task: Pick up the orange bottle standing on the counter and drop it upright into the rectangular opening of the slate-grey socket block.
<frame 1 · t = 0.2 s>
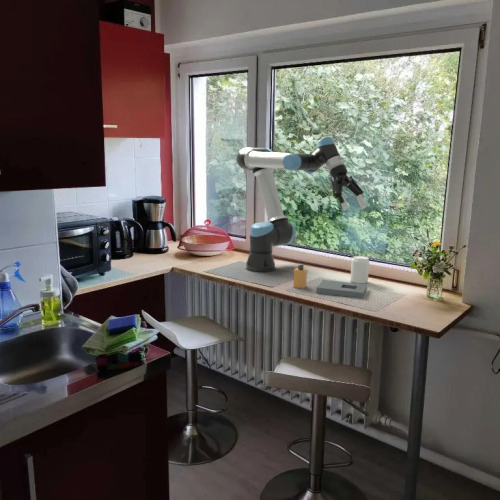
hand: (355, 208, 225), 35 cm above the countertop, tool tilted 35°, fingers open, 13 cm apart
orange bottle: (299, 286, 226), on the countertop
beverage can: (358, 282, 236), on the countertop
socket block: (341, 291, 220), on the countertop
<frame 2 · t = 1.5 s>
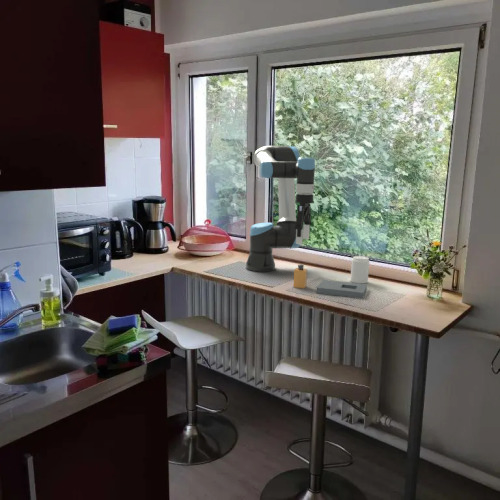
hand: (302, 241, 222), 21 cm above the countertop, tool pointing down, fingers open, 13 cm apart
nothing on the countertop moved.
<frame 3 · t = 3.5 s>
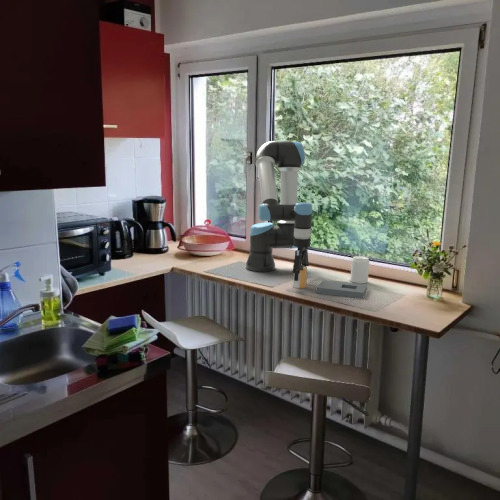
hand: (300, 283, 226), 1 cm above the countertop, tool pointing down, fingers open, 13 cm apart
nothing on the countertop moved.
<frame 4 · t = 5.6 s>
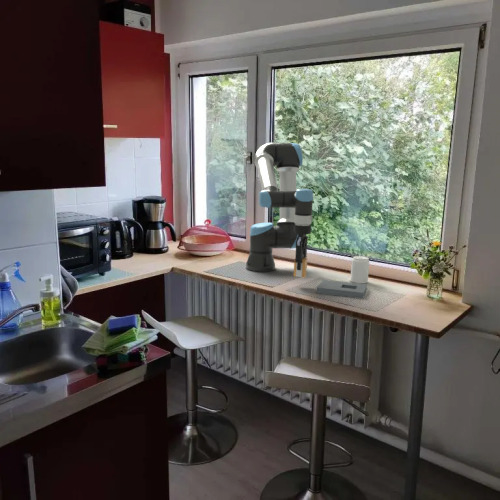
hand: (300, 275, 226), 5 cm above the countertop, tool pointing down, fingers closed on orange bottle, 4 cm apart
orange bottle: (300, 275, 226), point 5 cm above the countertop, touching gripper
everything else where it was.
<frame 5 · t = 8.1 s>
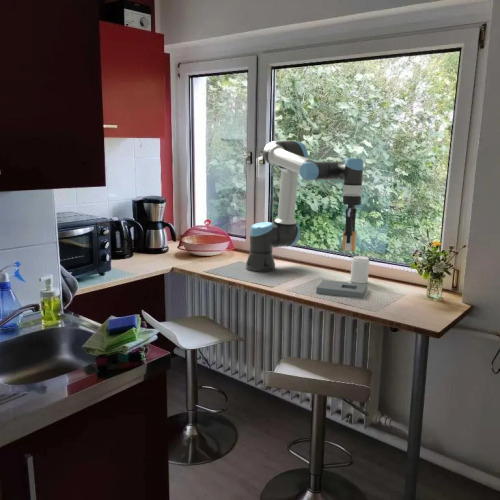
hand: (348, 249, 215), 19 cm above the countertop, tool pointing down, fingers closed on orange bottle, 4 cm apart
orange bottle: (348, 250, 216), point 19 cm above the countertop, touching gripper
everything else where it was.
when the fingers open (4 cm above the countertop, at t = 10.7 s): orange bottle drops 4 cm, resting in socket block.
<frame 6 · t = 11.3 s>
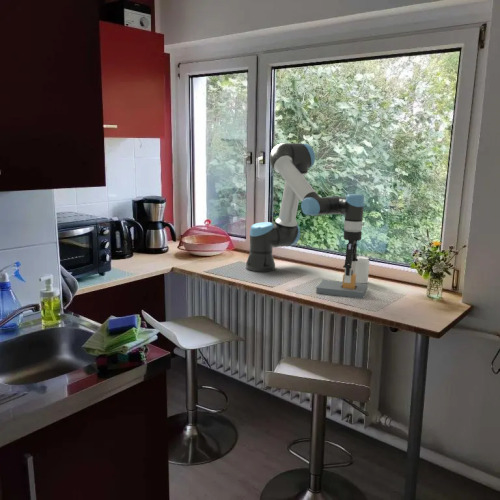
hand: (349, 278, 218), 6 cm above the countertop, tool pointing down, fingers open, 12 cm apart
orange bottle: (348, 292, 219), resting in socket block
everything else where it was.
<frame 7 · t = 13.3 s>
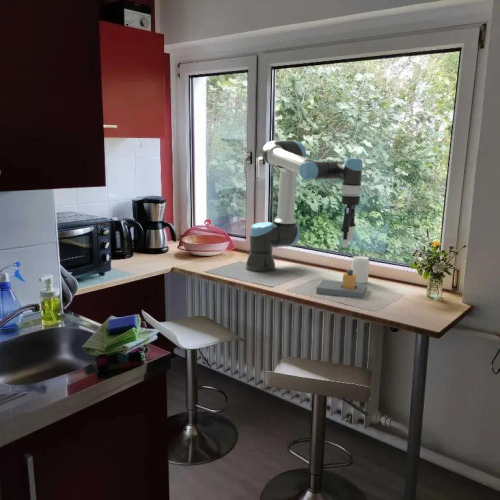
hand: (347, 244, 217), 21 cm above the countertop, tool pointing down, fingers open, 13 cm apart
nothing on the countertop moved.
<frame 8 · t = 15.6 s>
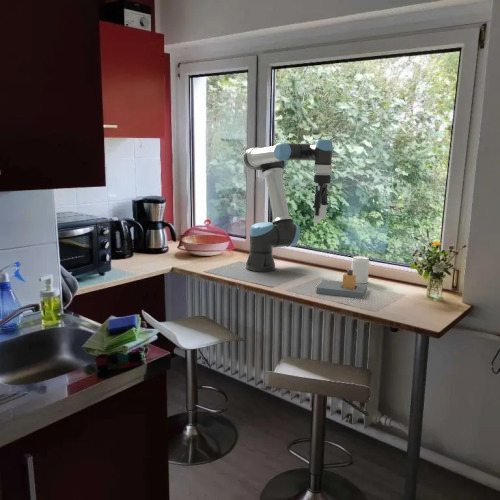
hand: (319, 220, 231), 29 cm above the countertop, tool pointing down, fingers open, 13 cm apart
nothing on the countertop moved.
at the end: orange bottle 0.0 cm from the target spot on the socket block, point 0.0 cm above the socket block's base; orange bottle tilted 0°; the gripper is holding nothing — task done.
